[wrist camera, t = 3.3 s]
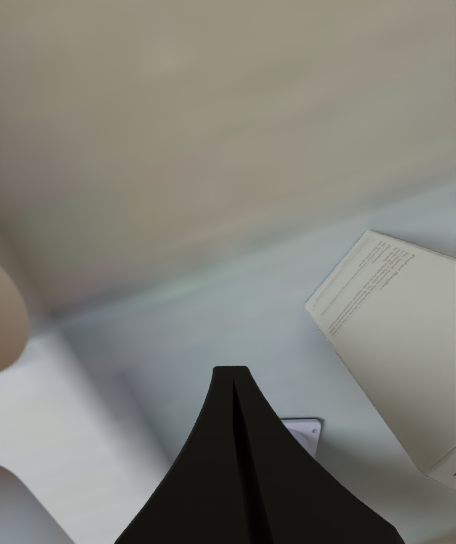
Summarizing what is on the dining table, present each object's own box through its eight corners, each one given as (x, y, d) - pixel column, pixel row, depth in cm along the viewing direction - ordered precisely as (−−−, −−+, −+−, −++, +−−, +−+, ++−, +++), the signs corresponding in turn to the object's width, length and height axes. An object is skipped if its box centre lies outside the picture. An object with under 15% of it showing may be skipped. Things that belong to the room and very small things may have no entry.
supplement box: (368, 350, 23) (540, 546, 11) (300, 304, 21) (417, 479, 9) (437, 280, 21) (734, 423, 9) (369, 224, 19) (629, 310, 7)
